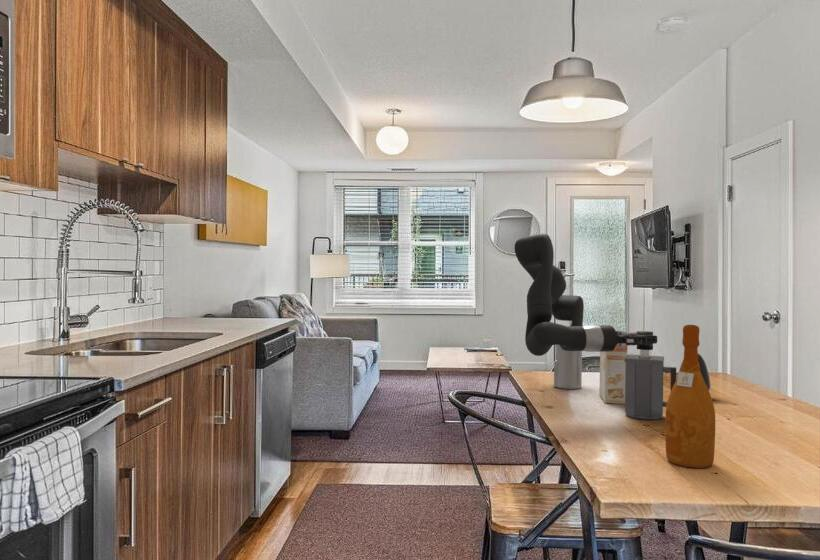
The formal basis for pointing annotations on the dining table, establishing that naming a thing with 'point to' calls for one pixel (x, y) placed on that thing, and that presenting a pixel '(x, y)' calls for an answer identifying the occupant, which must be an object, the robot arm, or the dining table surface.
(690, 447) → the wine bottle
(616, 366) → the coffeecake box
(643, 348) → the plunger
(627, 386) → the press body
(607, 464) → the dining table surface
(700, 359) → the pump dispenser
